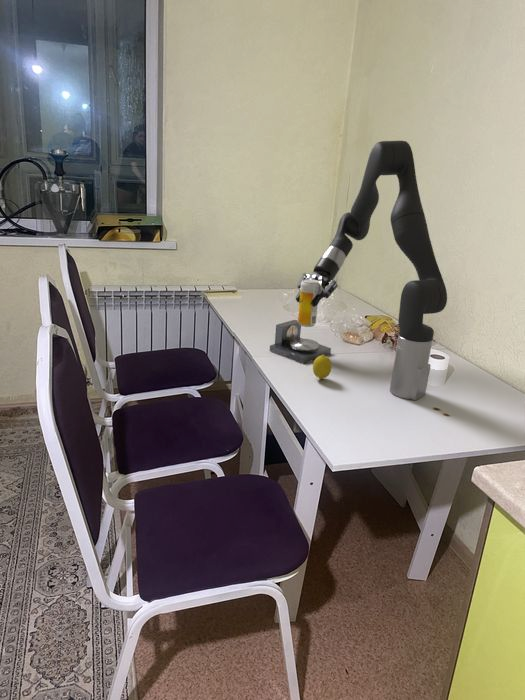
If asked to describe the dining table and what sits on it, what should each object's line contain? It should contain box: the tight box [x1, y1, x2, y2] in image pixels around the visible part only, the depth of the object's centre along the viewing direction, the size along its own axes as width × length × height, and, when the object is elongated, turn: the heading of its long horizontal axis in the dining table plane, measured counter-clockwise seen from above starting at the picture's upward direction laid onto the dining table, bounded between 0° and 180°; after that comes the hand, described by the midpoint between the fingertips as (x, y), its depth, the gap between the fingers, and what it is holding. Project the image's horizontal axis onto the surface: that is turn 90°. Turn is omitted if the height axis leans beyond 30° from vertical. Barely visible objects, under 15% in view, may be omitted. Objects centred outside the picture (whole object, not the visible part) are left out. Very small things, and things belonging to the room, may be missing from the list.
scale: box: [269, 319, 332, 364], centre depth 169 cm, size 15×15×9 cm
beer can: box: [297, 279, 319, 328], centre depth 163 cm, size 6×6×15 cm
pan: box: [290, 337, 320, 351], centre depth 169 cm, size 10×10×1 cm
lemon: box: [312, 355, 332, 380], centre depth 148 cm, size 6×6×8 cm
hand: (305, 302), depth 162 cm, fingers closed on beer can, 6 cm apart
